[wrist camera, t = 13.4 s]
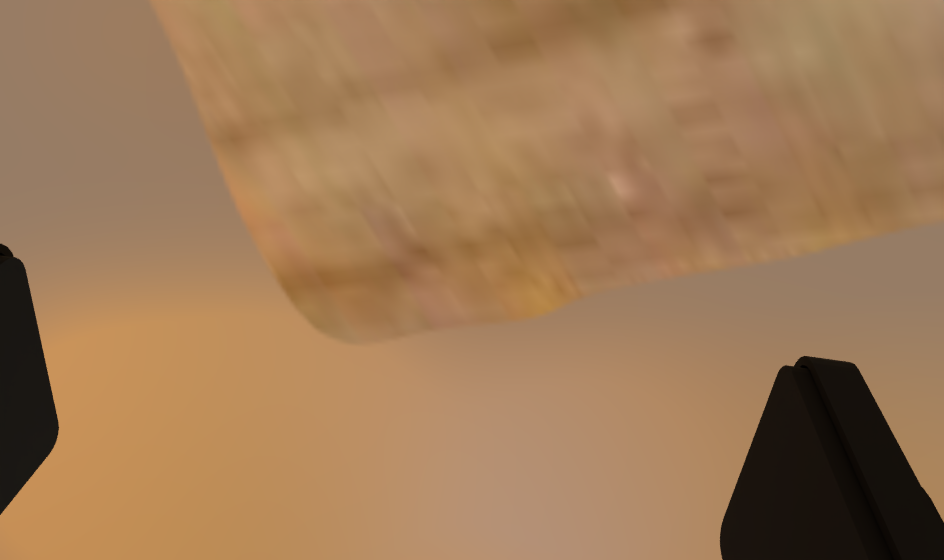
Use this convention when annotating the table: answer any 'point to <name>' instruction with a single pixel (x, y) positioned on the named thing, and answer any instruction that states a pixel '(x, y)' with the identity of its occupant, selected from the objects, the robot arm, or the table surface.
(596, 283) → the table surface
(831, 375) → the robot arm
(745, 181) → the table surface
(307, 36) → the table surface
